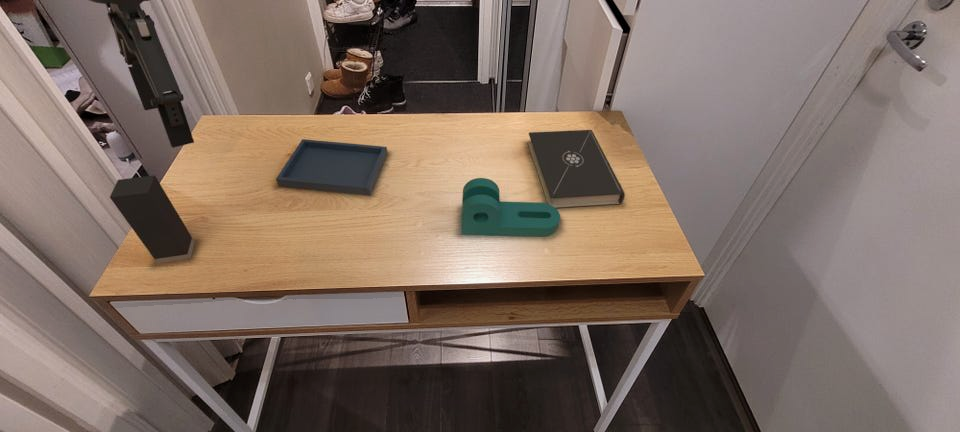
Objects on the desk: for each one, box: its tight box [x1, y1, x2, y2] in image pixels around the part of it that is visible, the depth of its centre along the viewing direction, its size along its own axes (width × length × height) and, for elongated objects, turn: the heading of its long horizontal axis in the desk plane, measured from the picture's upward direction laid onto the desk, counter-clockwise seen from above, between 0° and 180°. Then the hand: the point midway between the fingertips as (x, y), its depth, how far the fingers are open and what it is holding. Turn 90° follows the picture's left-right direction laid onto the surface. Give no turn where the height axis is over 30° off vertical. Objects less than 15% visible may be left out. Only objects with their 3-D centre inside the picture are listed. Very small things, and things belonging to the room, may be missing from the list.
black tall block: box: [109, 175, 196, 265], centre depth 73 cm, size 5×4×15 cm
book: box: [527, 129, 626, 209], centre depth 96 cm, size 22×15×3 cm
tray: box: [275, 138, 389, 196], centre depth 94 cm, size 19×14×2 cm
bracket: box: [460, 177, 561, 238], centre depth 83 cm, size 18×7×8 cm, turn 90°
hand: (168, 125), depth 67 cm, fingers open, 13 cm apart
